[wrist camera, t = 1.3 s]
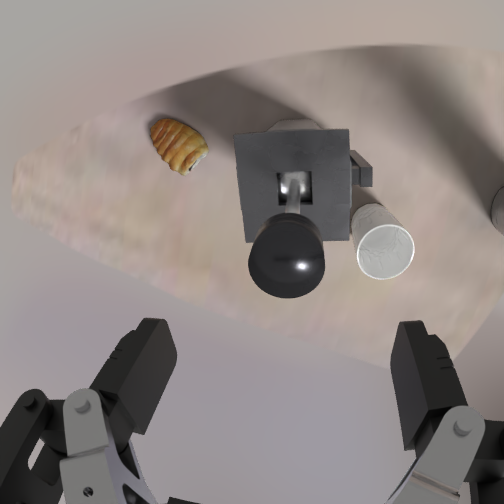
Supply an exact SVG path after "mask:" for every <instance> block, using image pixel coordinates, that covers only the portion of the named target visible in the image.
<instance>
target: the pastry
mask: <svg viewBox="0 0 504 504" xmlns="http://www.w3.org/2000/svg"><path fill="white" fill-rule="evenodd" d="M150 131H151V138H152V140H153V145H154V147H156V148H157V152H158V154H159V155H161V157H162V160H163V161H165V162H167V163H168V164H169V167H170V169H172V170H174V171H177V172H179V173H180V174H181V175H183V176H185V175H187V174H188V173H189V172H190V171H191V170H192V169H194V168H195V167H196V165H197V164H198V162H199V161H200V160H201V159H203V158H205V156H206V155H207V154H208V151H209V149H208V146H207V144H206V142H205V140H204V138H203V137H202V136H201V135H200V134H199V133H198V132H196V131H195V130H193V129H192V128H190V127H189V126H186V125H184V124H182V123H180V122H178V121H176V120H173V119H161V120H159V121H158V122H156V124H155V125H154V126H152V127H151V129H150Z"/></svg>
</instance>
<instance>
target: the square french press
mask: <svg viewBox="0 0 504 504" xmlns="http://www.w3.org/2000/svg"><path fill="white" fill-rule="evenodd" d="M233 136H234V145H235V154H236V163H237V167H236V169H237V178H238V187H239V195H240V204H241V210H242V214H243V223H244V231H245V240H246V243H251V242H254V241H255V238H256V235H257V232H258V230H259V228H260V226H261V225H262V224H263V223H264V222H265V221H266V220H267V219H269V218H270V217H272V216H274V215H277V214H280V213H285V209H286V203H279V192H278V179H277V172H298V171H311V174H312V199H313V202H300V215H303V216H305V217H307V218H308V219H310V220H311V221H312V222H313V223H314V224H315V225H316V226H317V227H318V229H319V231H320V233H321V236H322V240H323V241H349V234H350V208H351V207H352V184H359V185H360V187H372V166H371V165H370V164H369V163H368V162H367V161H366V160H365V159H364V158H363V157H362V156H360V155H359V154H358V153H357V152H356V151H355V150H350V145H349V129H321V128H320V127H319V126H318V125H317V124H316V123H315V122H314V121H312V120H311V119H290V120H280V121H279V122H277V123H276V124H275V125H274V126H272V127H271V128H270V129H268V130H267V131H266V132H254V133H243V134H235V135H233Z"/></svg>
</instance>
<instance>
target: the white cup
mask: <svg viewBox="0 0 504 504" xmlns="http://www.w3.org/2000/svg"><path fill="white" fill-rule="evenodd" d="M351 229H352V237H353V243H354V248H355V253H356V258H357V263H358V265H359V267H360V269H361V270H362V271H363V272H364V273H365V274H366V275H368V276H369V277H371V278H374V279H381V280H383V279H390V278H393V277H396V276H398V275H399V274H401V273H402V272H403V271H404V270H405V269H406V268H407V267H408V266H409V264H410V263H411V261H412V259H413V255H414V242H413V239H412V237H411V235H410V234H409V233H408V231H407V230H406V229H405V228H404V227H403V225H402V224H401V223H400V222H399V221H398V220H397V218H395V216H394V215H393V214H391V213H390V212H389V211H388V210H387V209H386V208H385V207H384V206H381V205H379V204H377V203H374V204H366V205H364V206H362V207H360V208H359V209H358V210H357V211H356V212H355V214H354V215H353V217H352V222H351Z"/></svg>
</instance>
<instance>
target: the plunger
mask: <svg viewBox="0 0 504 504" xmlns="http://www.w3.org/2000/svg"><path fill="white" fill-rule="evenodd" d="M277 179H278V192H279V203H286V209H285V213H280V214H277V215H274V216H272V217H270V218H269V219H267V220H266V221H265V222H264V223H263V224H262V225H261V226H260V228H259V230H258V232H257V235H256V238H255V241H254V243H253V246H252V249H251V252H250V255H249V260H248V268H249V272H250V275H251V277H252V279H253V281H254V282H255V284H256V285H257V286H258V287H259V288H260V289H261V290H263V291H264V292H266V293H268V294H270V295H272V296H275V297H279V298H296V297H300V296H303V295H306V294H307V293H309V292H311V291H312V290H313V289H315V288H316V287H317V286H318V284H319V283H320V281H321V280H322V278H323V275H324V271H325V259H324V249H323V240H322V236H321V233H320V231H319V229H318V227H317V226H316V225H315V224H314V223H313V222H312V221H311V220H310V219H308V218H307V217H305V216H303V215H300V202H313V199H312V174H311V171H298V172H277Z"/></svg>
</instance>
